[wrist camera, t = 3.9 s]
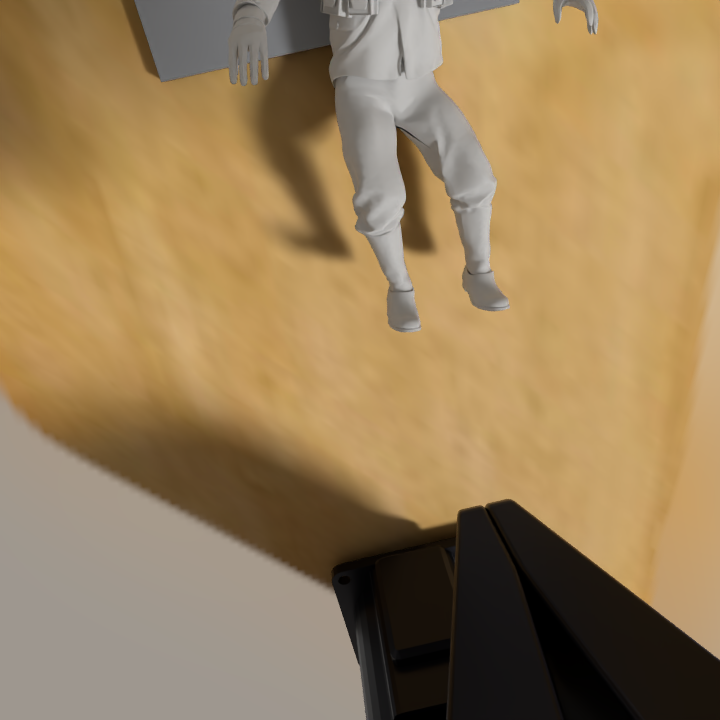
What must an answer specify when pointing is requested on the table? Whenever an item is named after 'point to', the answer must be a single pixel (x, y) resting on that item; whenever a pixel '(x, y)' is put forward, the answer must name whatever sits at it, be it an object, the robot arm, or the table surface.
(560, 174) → the table surface
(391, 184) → the soldier figure
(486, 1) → the board
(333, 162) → the table surface
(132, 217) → the table surface
